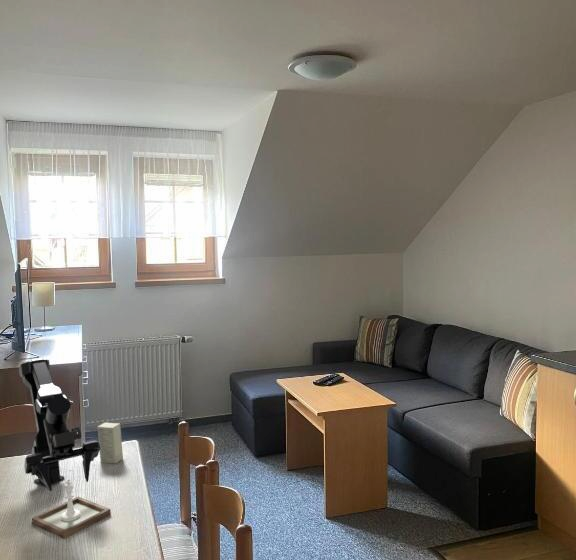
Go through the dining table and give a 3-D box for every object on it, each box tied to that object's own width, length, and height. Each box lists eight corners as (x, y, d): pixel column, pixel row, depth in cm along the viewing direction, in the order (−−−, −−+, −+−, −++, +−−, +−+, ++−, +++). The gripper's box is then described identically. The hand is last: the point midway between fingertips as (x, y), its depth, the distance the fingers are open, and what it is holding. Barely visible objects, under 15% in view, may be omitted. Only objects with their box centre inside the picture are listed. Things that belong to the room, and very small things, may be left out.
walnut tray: (32, 523, 150) (31, 517, 150) (78, 501, 162) (78, 496, 162) (64, 538, 143) (63, 532, 142) (110, 514, 154) (110, 509, 154)
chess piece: (67, 523, 149) (64, 485, 148) (57, 517, 152) (54, 481, 151) (84, 515, 153) (82, 479, 152) (74, 510, 156) (72, 474, 155)
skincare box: (123, 458, 192) (121, 423, 191) (115, 464, 188) (113, 427, 186) (107, 456, 194) (105, 421, 193) (99, 462, 190) (96, 426, 188)
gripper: (23, 426, 149) (33, 482, 141) (96, 411, 159) (110, 463, 151) (20, 446, 156) (30, 500, 148) (90, 431, 167) (103, 481, 159)
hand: (69, 486), depth 151 cm, fingers open, 9 cm apart
